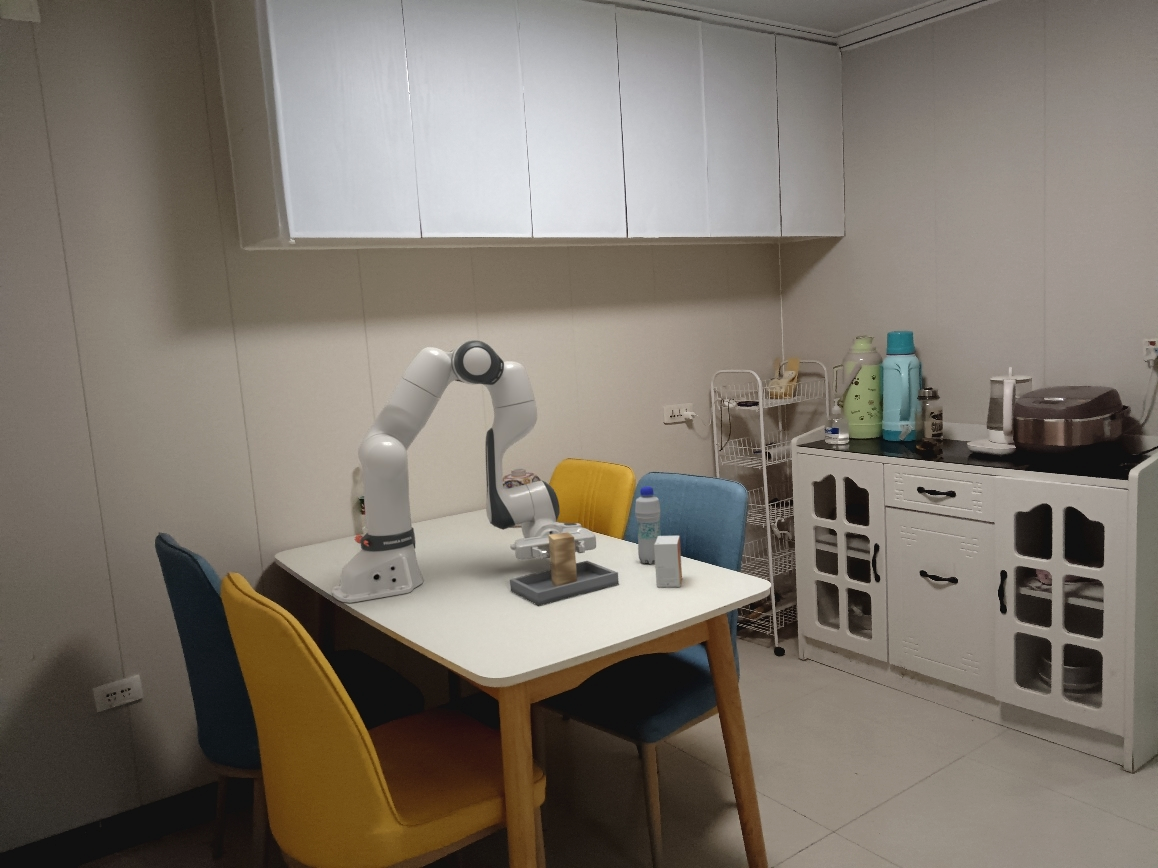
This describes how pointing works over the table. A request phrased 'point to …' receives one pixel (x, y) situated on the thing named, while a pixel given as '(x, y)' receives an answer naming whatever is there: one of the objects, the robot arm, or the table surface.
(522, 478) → the decorative jar
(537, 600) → the tray
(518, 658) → the table surface
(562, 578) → the oak block
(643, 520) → the bottle
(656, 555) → the small box
